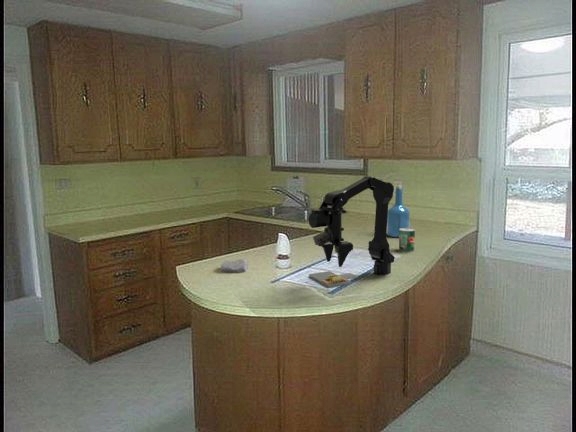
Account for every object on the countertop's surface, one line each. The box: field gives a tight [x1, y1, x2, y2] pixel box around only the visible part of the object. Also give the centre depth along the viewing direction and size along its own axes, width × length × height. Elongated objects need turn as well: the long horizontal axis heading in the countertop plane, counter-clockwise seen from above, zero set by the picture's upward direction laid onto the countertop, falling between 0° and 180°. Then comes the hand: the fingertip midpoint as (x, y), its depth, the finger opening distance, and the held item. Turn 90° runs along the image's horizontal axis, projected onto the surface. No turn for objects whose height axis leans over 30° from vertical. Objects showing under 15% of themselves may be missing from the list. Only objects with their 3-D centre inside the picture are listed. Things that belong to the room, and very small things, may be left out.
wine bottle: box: [386, 185, 411, 238], centre depth 278 cm, size 14×13×30 cm
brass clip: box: [328, 273, 342, 284], centre depth 187 cm, size 4×4×4 cm
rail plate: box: [308, 270, 352, 289], centre depth 191 cm, size 10×17×2 cm, turn 24°
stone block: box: [220, 258, 248, 274], centre depth 213 cm, size 12×5×10 cm
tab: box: [338, 272, 359, 280], centre depth 196 cm, size 6×7×1 cm
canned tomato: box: [398, 227, 416, 253], centre depth 243 cm, size 8×8×11 cm
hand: (334, 264), depth 186 cm, fingers open, 9 cm apart
